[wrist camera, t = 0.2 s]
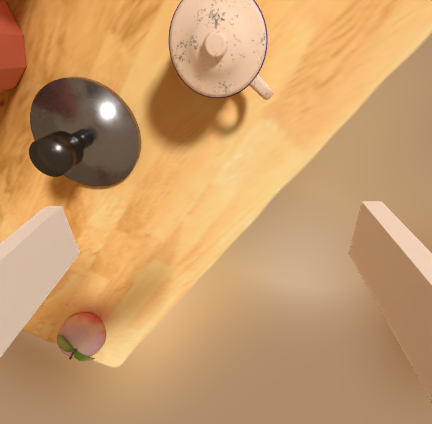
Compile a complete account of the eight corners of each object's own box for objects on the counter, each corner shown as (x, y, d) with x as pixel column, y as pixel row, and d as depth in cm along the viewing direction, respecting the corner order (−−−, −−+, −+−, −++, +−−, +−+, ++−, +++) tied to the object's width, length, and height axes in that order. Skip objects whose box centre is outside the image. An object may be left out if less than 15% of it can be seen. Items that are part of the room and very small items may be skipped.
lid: (20, 76, 36) (-48, 84, 27) (132, 77, 35) (99, 86, 26) (55, 180, 43) (11, 213, 35) (147, 183, 42) (125, 217, 34)
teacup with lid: (168, 51, 33) (139, 52, 23) (216, -24, 29) (207, -63, 19) (241, 118, 36) (244, 144, 26) (293, 58, 32) (319, 62, 22)
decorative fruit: (64, 311, 60) (36, 355, 51) (85, 295, 57) (58, 339, 48) (99, 333, 63) (77, 377, 55) (120, 319, 60) (101, 364, 51)
